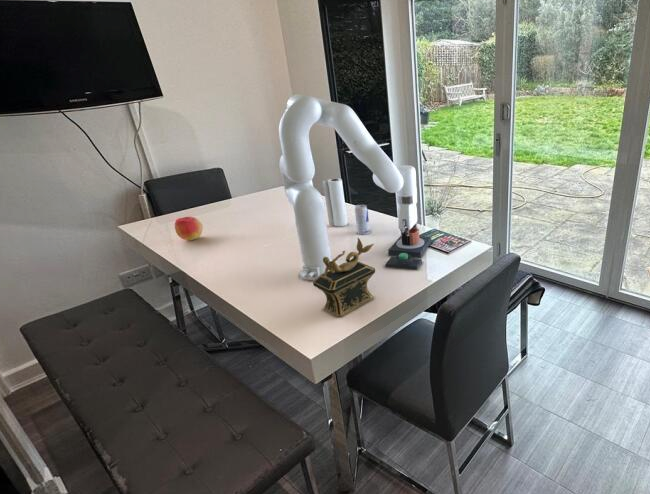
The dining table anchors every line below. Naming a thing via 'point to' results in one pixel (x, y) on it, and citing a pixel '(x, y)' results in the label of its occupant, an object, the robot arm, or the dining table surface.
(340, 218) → the paper towel roll
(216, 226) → the dining table surface
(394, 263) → the scale panel
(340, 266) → the decorative box
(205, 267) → the dining table surface
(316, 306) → the dining table surface
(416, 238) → the bowl
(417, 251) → the scale
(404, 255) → the tare button
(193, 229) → the apple
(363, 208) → the energy drink
